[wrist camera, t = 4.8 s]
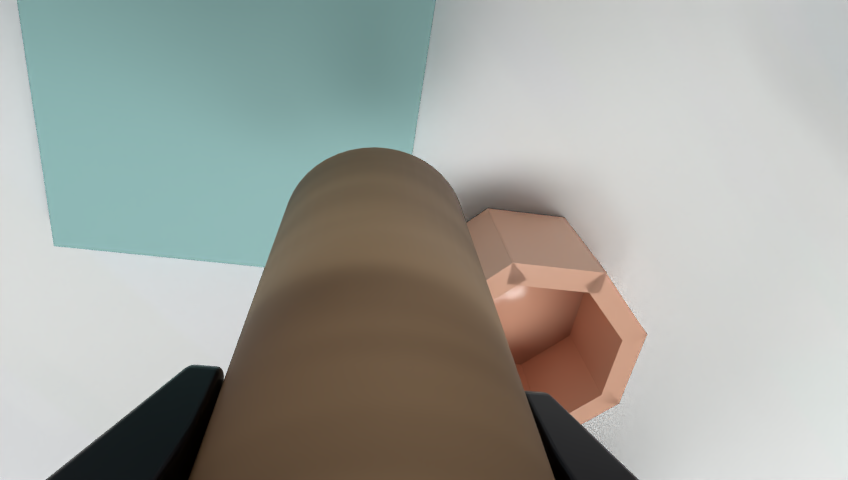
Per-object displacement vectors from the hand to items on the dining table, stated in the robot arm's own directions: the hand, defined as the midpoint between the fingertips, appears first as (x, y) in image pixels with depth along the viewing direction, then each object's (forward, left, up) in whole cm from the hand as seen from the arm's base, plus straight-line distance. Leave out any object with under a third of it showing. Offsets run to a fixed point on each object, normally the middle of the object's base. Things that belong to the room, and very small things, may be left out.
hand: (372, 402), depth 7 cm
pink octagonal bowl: (-6, -6, -14) cm, 16 cm away
